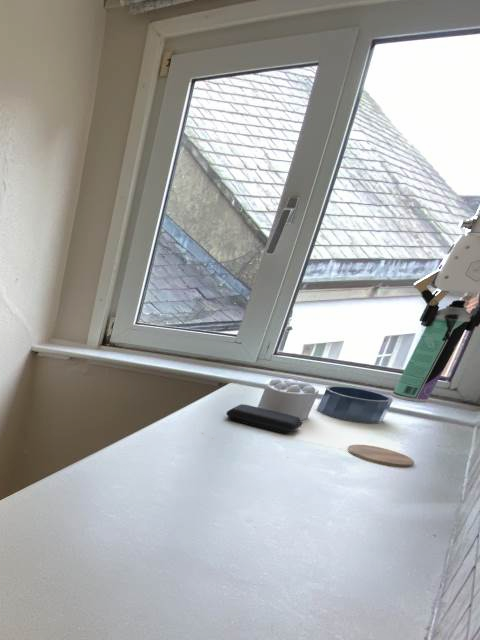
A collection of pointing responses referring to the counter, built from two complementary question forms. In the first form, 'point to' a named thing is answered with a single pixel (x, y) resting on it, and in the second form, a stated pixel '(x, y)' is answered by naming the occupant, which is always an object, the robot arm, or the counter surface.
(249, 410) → the carrying case
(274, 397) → the white pebble pot
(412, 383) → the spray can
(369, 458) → the coaster
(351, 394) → the bowl
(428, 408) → the counter surface
